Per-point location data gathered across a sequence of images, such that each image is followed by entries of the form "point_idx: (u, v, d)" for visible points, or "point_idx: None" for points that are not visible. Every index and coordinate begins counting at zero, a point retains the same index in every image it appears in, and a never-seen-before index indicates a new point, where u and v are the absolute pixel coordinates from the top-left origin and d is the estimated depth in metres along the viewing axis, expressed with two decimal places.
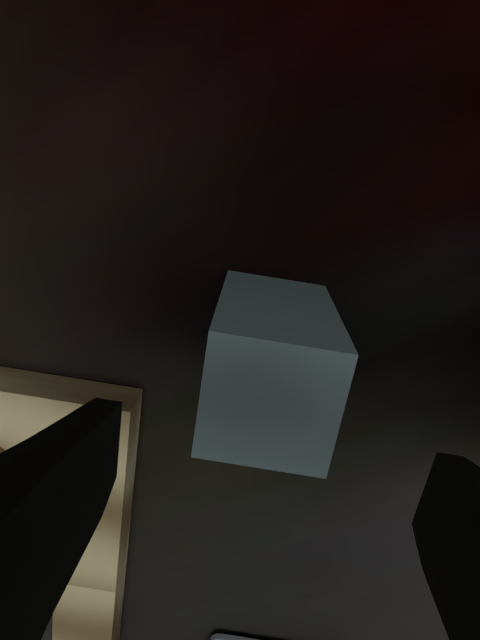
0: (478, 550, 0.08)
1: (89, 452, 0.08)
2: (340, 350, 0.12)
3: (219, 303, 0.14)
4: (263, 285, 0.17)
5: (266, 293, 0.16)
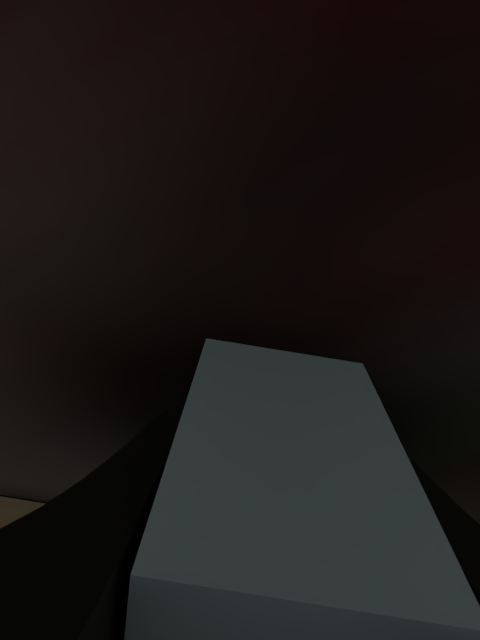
0: None
1: None
2: (446, 615, 0.05)
3: (176, 443, 0.07)
4: (263, 373, 0.10)
5: (267, 398, 0.09)
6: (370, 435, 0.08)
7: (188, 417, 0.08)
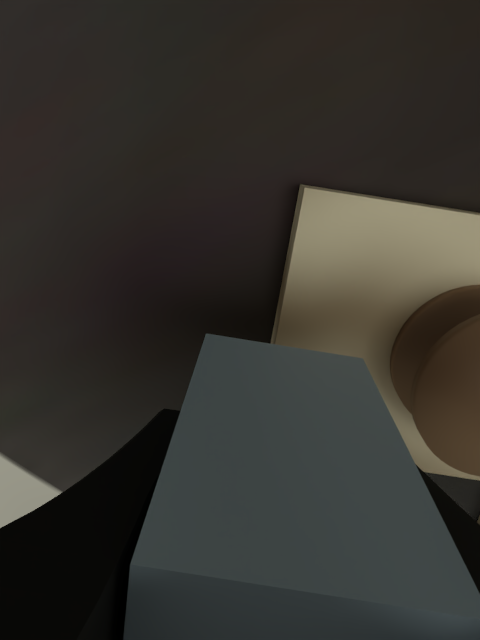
0: None
1: None
2: (447, 604, 0.05)
3: (176, 436, 0.07)
4: (263, 368, 0.10)
5: (267, 391, 0.09)
6: (370, 428, 0.08)
7: (188, 410, 0.08)
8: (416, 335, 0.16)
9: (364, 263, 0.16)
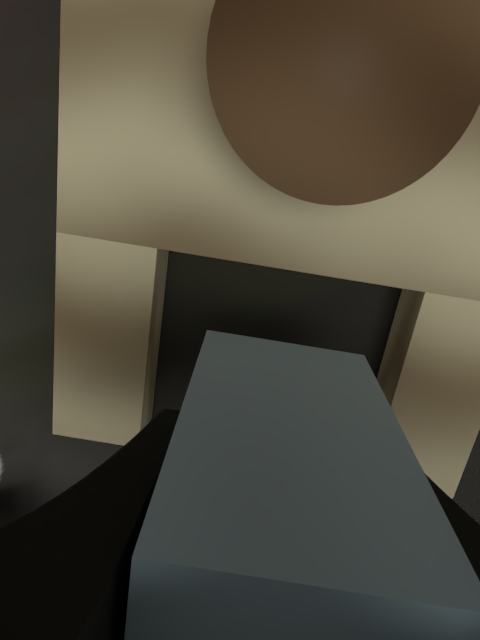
0: None
1: None
2: (450, 598, 0.05)
3: (177, 430, 0.07)
4: (264, 364, 0.10)
5: (268, 388, 0.09)
6: (372, 424, 0.08)
7: (189, 405, 0.08)
8: None
9: None
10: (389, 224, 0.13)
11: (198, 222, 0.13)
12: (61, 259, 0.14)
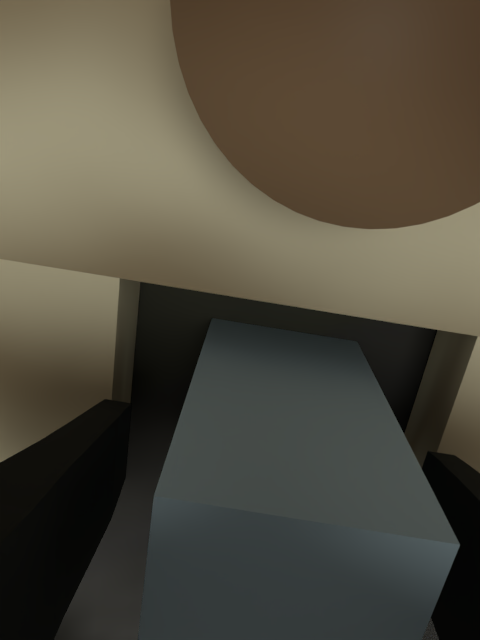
0: (467, 548, 0.08)
1: (100, 455, 0.08)
2: (421, 532, 0.06)
3: (188, 401, 0.08)
4: (264, 347, 0.11)
5: (268, 367, 0.10)
6: (362, 399, 0.09)
7: (198, 381, 0.09)
8: None
9: None
10: (432, 247, 0.10)
11: (174, 244, 0.10)
12: None
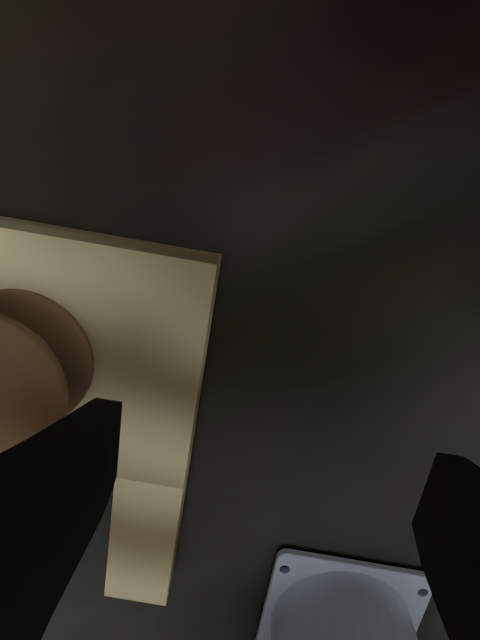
0: (478, 550, 0.08)
1: (89, 452, 0.08)
2: None
3: None
4: None
5: None
6: None
7: None
8: None
9: None
10: None
11: None
12: None
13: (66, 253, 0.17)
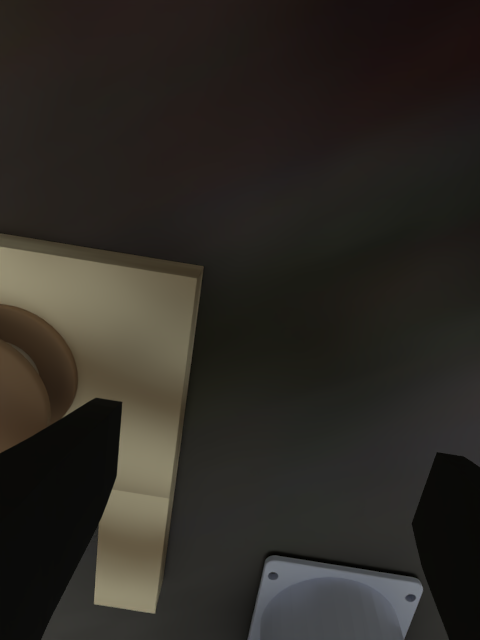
0: (478, 550, 0.08)
1: (89, 453, 0.08)
2: None
3: None
4: None
5: None
6: None
7: None
8: None
9: None
10: None
11: None
12: None
13: (48, 268, 0.17)
